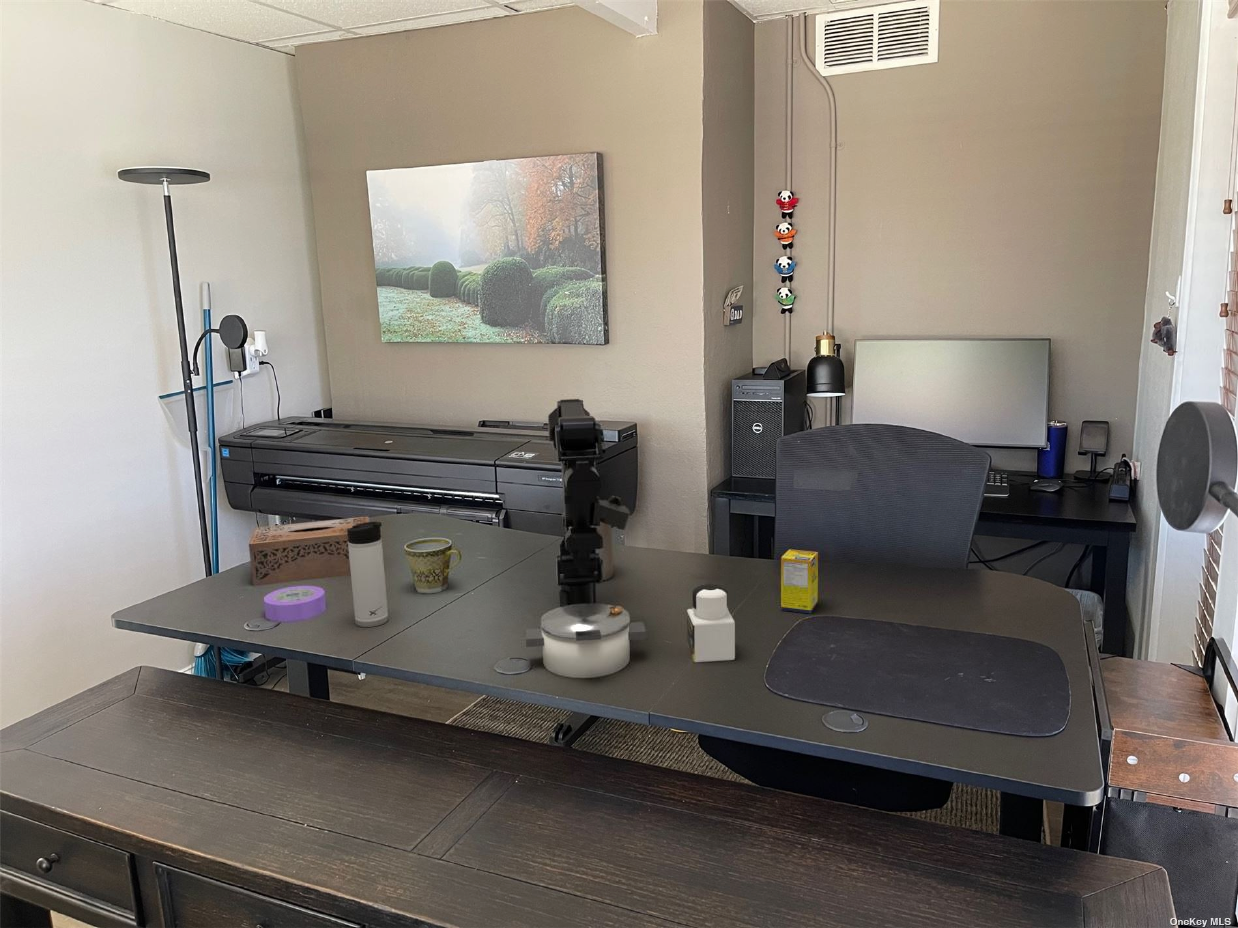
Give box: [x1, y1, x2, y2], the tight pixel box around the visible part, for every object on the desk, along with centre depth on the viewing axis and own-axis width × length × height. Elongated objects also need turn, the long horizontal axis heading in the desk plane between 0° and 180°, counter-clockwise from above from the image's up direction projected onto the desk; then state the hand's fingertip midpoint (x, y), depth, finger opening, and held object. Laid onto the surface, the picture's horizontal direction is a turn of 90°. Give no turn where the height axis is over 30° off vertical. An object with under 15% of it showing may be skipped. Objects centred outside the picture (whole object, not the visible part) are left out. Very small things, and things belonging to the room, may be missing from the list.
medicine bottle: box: [686, 583, 736, 663], centre depth 154 cm, size 7×7×12 cm
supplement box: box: [780, 549, 819, 615], centre depth 174 cm, size 6×6×11 cm
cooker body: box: [525, 621, 647, 679], centre depth 154 cm, size 16×20×6 cm
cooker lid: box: [540, 603, 631, 641], centre depth 152 cm, size 17×15×2 cm
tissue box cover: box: [248, 516, 370, 587], centre depth 207 cm, size 26×14×10 cm, turn 106°
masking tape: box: [263, 585, 327, 623], centre depth 181 cm, size 12×12×4 cm
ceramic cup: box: [404, 537, 462, 594], centre depth 191 cm, size 13×10×10 cm
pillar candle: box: [591, 522, 614, 582], centre depth 196 cm, size 10×10×15 cm
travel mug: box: [347, 521, 389, 628], centre depth 173 cm, size 6×7×20 cm
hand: (583, 574), depth 159 cm, fingers closed
